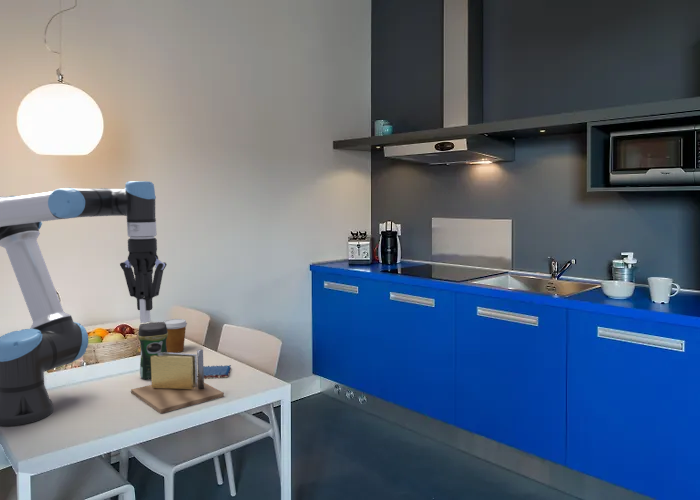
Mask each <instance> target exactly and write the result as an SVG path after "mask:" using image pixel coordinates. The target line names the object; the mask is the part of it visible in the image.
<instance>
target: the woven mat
mask: <svg viewBox="0 0 700 500" xmlns="http://www.w3.org/2000/svg"><path fill="white" fill-rule="evenodd" d="M203 366H204V380H206V379H217V378H218V379H223V378H225V379H227V378H228V377H229V376H230V372H231V370H232V367H231V366H232V365H211V366H210V365H208V366H207V365H206V366H205V365H203ZM197 378H198V375H197Z"/></svg>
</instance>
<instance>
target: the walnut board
mask: <svg viewBox="0 0 700 500" xmlns="http://www.w3.org/2000/svg"><path fill="white" fill-rule="evenodd" d="M197 383H198V378H197ZM130 392H131V394H132V395H133V396H135V397H136V398H138V399H139V400H140V401H142V402H143V403H144V404H146V405H147V406H149V407H150V408H152V409H153V410H154V411H156V412H158V413H159V414H165V413H169V412H171V411H176V410H178V409H182V408H186V407H190V406H194V405H198V404H202V403H205V402H208V401H212V400H216V399H219V398H223V397H224V396H225V394H224V391H221V390H220V389H217V388H215V387H213V386H212V385H210V384H207V383H206V382H204V389H202V390H199V389H198V386H197V387H193V389H174V388H152V384H150V385H149V384H148V385H145V386H140V387H136V388H132V389H130Z"/></svg>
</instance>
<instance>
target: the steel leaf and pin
mask: <svg viewBox="0 0 700 500" xmlns="http://www.w3.org/2000/svg"><path fill="white" fill-rule="evenodd" d="M158 356H188V357H192V359H193V387H197V386H198V389H199V390H202V389H204V383H205V378H204V377H205V376H204V366H205V365H204V350H203V349H201V348H200V349H197V350H196V353H194V354H193V353H181V352H179V353H170V352H158ZM197 376H198V377H197ZM197 379H198V383H197Z"/></svg>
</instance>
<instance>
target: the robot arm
mask: <svg viewBox="0 0 700 500" xmlns="http://www.w3.org/2000/svg"><path fill="white" fill-rule="evenodd" d="M155 191H156V190H155V184H154V183H153V182H152V181H147V180H146V181H143V180H140V181H139V180H138V181H136V180H134V181H126V182H125V186H124V188H105V187H104V188H102V187H101V188H76V187H75V188H73V187H62V188H56V189H54V190H53V191H47V192H39V193H33V194H32V193H31V194H25V195H24V194H23V195H19V196H18V195H9V196H8V195H6V196H3V195H2V196H0V247H1V248H4V249H5V250H6V254H7V256H8V259H9V262H10V265H11V267H12V269H13V272H14V275H15V278H16V280H17V282H18V285H19V289H20V291H21V293H22V295H23V296H22V297H23V298H24V299H23V300H24V301H25V304H26V307H27V310H28V312H29V315H30V318H31V321H32V324H31V326H30V327H29V328H24V329H23V328H22V329H21V330H14V331H10V332H7V333H5V334H3V335H1V336H0V427H10V426H13V427H15V426H21V425H26V424H31V423H34V422H37V421H40V420H42V419H44V418H45V419H46V417H48V416H50V415H51V414H52V413H53V411H54V409H53V408H54V407H53V406H54V405H53V401H52V399H51V398H50V396H49V394H48V390H47V389H46V386H45V372H47V371H51V370H53V369H56V368H58V367H59V368H60V367H62V366H65V365H69V364H72V363H73V362H75V361H77V360H80V359H81V358H82V357H83V356H84V355H85V354H86V353H87V348H88V346H89V334H88V332H87V329H86V328H85V327H84V325H81V323H80V322H78V321H77V322H76V321H74V319H73V317H72V315H71V314H69V313H66V312H65V311H64V308H63V306H62V303H61V302H60V301H61V300H60V298H59V296H58V293H57V291H56V288H55V285H54V283H53V280H52V277H51V275H50V272H49V270H48V267H47V265H46V264H47V263H46V261H45V259H44V256H43V254H42V251H41V250H42V249H40V246H39V243H38V238H39V236H40V234H41V233H40V229H41V227H42V226H43V222H48V221H49V222H50V221H56V220H68V219H75V218H77V219H78V218H91V217H111V216H112V217H119V216H121V217H123V216H125V217H126V231H127V237H128V239H127V252H128V255H127V259H126V260H125V261H123V262H120V263H119V266H120V267H121V270H123V274H124V278H125V282H126V286H127V289H128V293H129V297H131V298H132V297H133V298H135V299H136V307H137V310H138V311H139V320H140V321H139V322H140V324H146V323H150V321H151V311H152V310H153V298H155V297H157V296H159V294H160V289H161V284H162V279H163V274H164V270H165V269H166V267H167V262H163V261H161V260H159V256H158V254H157V252H158V243H157V242H158V241H157V238H156V237H157V218H156V198H157V197H156V192H155ZM154 268H155V269H154Z"/></svg>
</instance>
